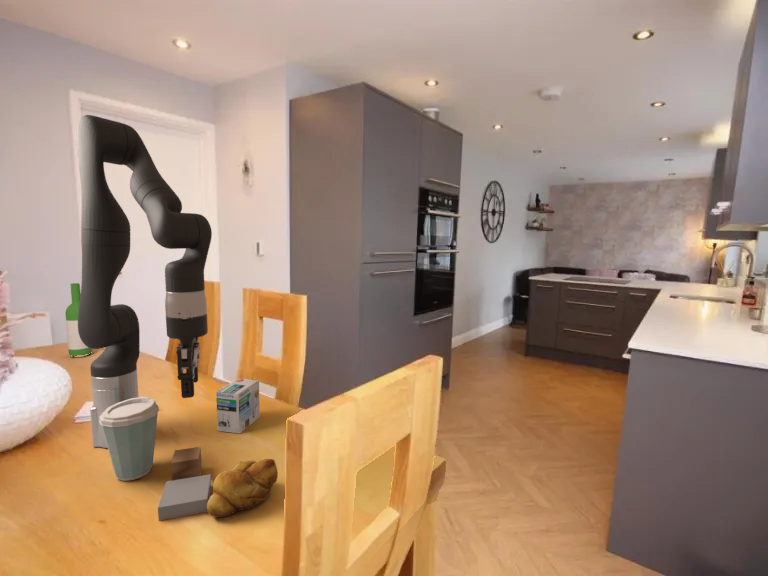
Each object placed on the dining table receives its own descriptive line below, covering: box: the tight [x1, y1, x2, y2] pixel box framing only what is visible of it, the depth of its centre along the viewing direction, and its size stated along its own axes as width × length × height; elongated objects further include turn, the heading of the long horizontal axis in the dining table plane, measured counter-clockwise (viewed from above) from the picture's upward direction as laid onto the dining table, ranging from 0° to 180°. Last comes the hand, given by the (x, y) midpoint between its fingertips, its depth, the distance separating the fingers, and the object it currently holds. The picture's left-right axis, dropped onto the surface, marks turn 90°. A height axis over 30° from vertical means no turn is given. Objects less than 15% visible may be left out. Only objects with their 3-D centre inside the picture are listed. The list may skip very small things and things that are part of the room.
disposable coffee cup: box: [99, 396, 160, 482], centre depth 84 cm, size 11×11×15 cm
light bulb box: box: [215, 378, 261, 434], centre depth 107 cm, size 11×7×11 cm, turn 168°
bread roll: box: [207, 458, 278, 518], centre depth 76 cm, size 13×10×8 cm
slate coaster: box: [157, 474, 212, 521], centre depth 76 cm, size 8×8×2 cm
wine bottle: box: [65, 282, 93, 356], centre depth 163 cm, size 8×8×30 cm
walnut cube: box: [170, 446, 203, 481], centre depth 84 cm, size 5×5×5 cm
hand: (190, 389), depth 83 cm, fingers open, 8 cm apart
